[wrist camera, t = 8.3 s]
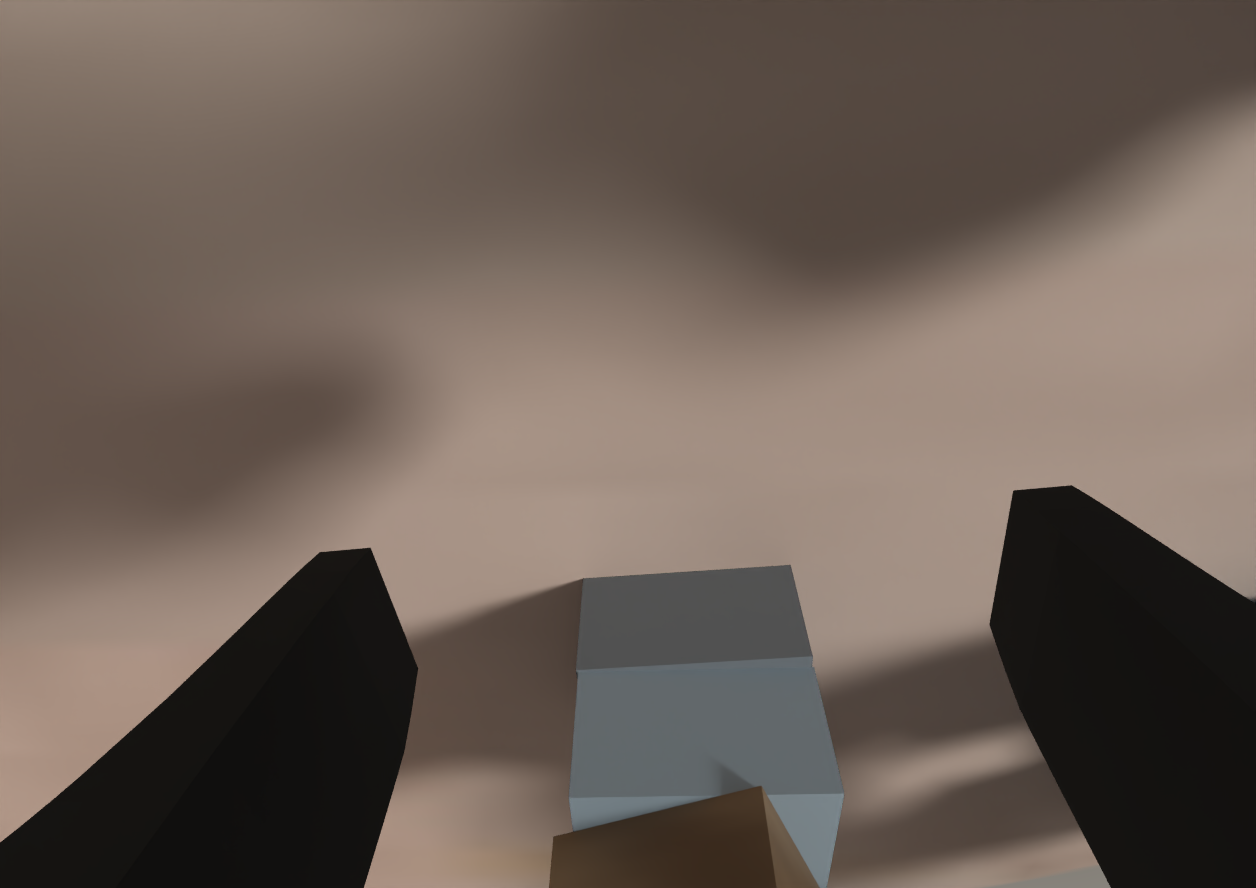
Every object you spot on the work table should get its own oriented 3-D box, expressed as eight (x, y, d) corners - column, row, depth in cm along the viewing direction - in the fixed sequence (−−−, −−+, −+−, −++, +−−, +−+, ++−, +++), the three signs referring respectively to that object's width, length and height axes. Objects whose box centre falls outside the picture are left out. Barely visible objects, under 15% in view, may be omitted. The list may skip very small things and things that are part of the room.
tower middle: (814, 667, 20) (844, 794, 17) (795, 805, 23) (818, 931, 21) (578, 671, 20) (568, 798, 17) (592, 808, 24) (586, 934, 21)
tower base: (790, 562, 23) (812, 656, 20) (786, 699, 26) (805, 797, 23) (583, 575, 23) (575, 670, 20) (605, 709, 26) (602, 807, 24)
